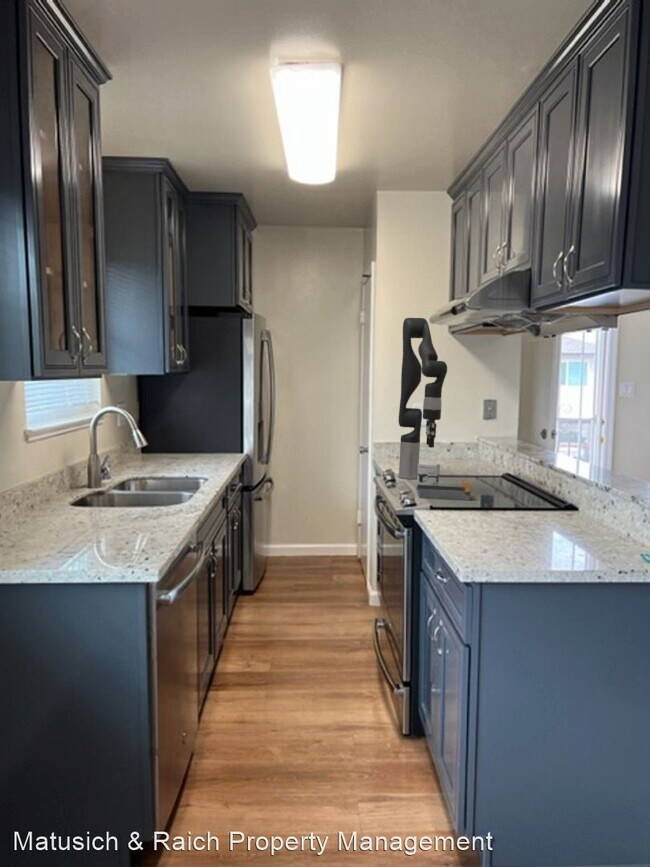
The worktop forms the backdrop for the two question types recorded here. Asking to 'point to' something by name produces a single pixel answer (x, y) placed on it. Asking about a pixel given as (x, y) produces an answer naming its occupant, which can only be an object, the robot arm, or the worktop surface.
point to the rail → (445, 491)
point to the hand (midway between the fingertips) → (430, 446)
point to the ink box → (428, 474)
